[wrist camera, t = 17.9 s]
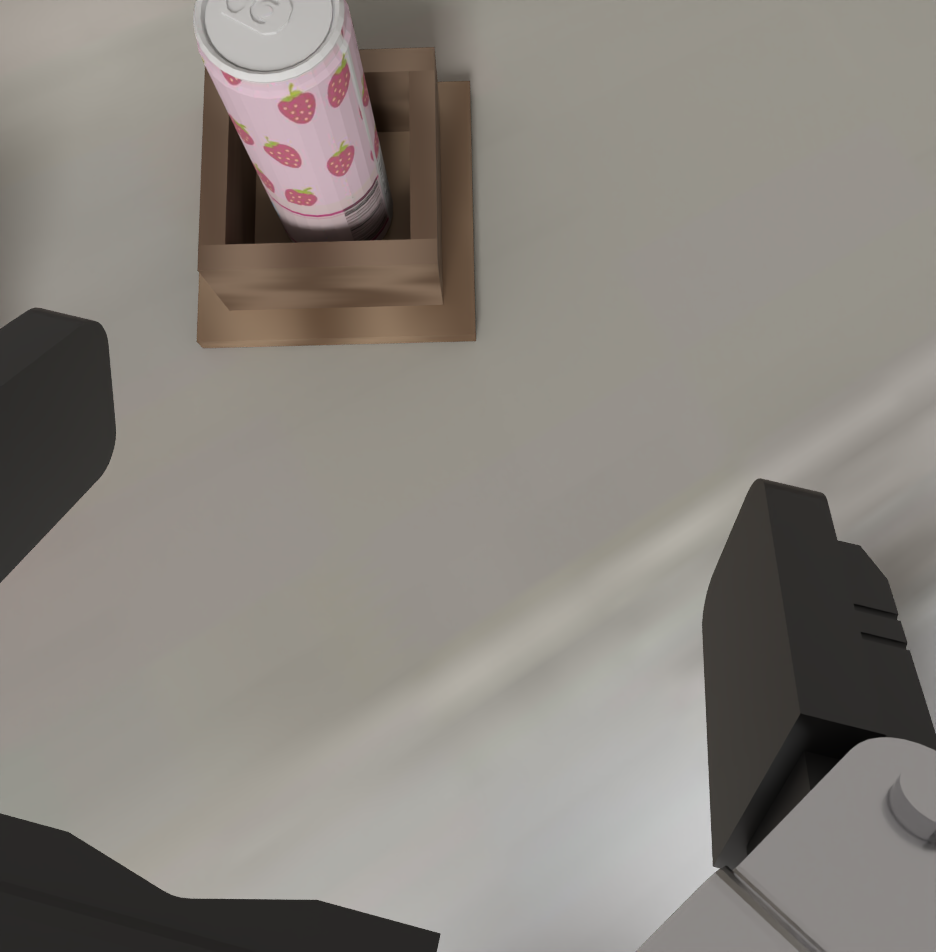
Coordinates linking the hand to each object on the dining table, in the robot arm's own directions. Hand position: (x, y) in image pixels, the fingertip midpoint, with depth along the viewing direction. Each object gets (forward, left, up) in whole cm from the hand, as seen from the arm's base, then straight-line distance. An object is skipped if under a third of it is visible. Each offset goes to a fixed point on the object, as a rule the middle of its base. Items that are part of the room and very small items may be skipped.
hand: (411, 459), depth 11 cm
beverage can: (+6, -19, -32) cm, 38 cm away
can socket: (+6, -20, -33) cm, 39 cm away
